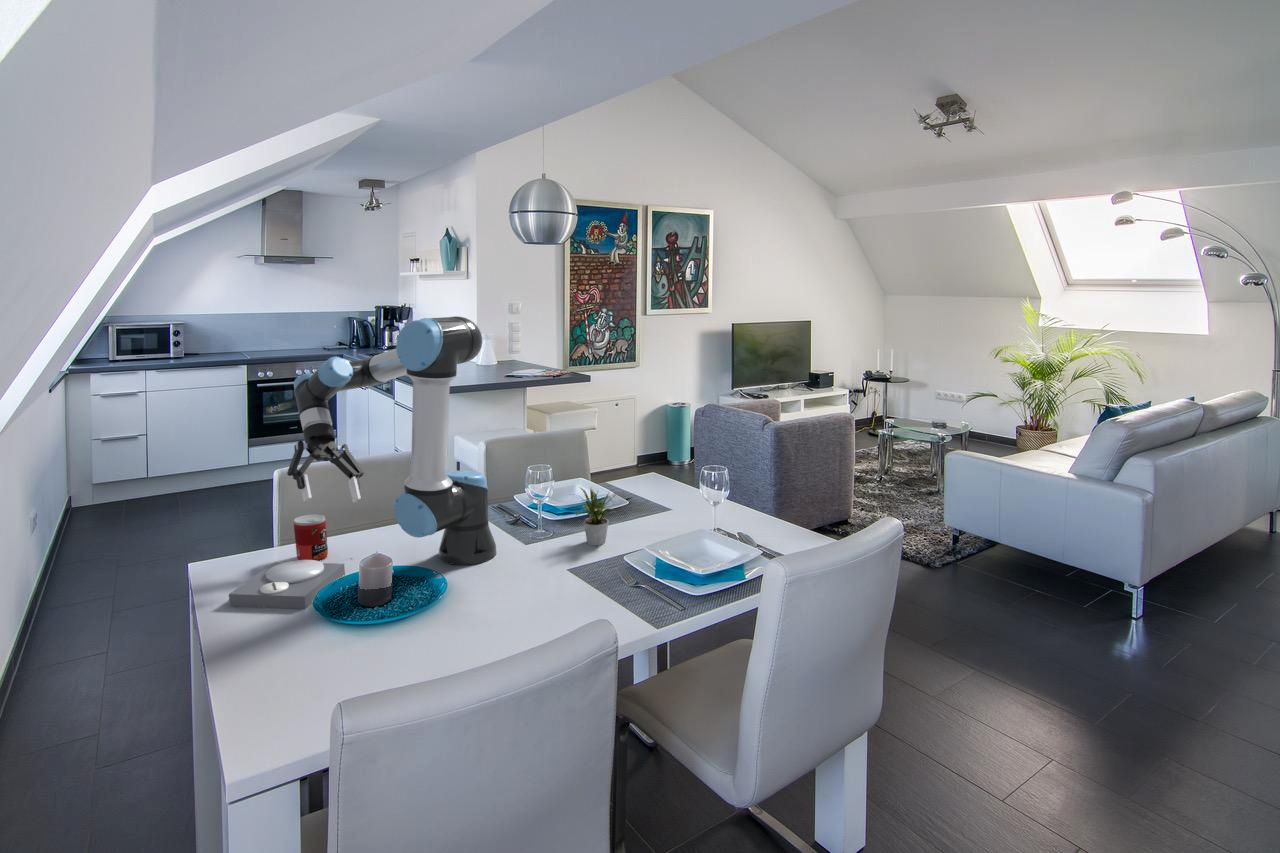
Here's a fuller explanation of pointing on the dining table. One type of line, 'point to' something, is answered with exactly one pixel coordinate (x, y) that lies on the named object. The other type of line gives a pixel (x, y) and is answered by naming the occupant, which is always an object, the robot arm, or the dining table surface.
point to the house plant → (595, 519)
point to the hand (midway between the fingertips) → (333, 500)
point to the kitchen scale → (286, 584)
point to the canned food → (311, 537)
